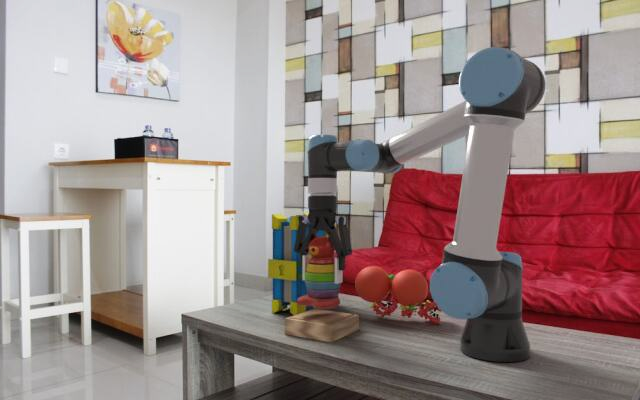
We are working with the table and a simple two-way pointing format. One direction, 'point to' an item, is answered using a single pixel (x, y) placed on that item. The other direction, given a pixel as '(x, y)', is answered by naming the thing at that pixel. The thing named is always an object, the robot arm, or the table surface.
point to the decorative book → (287, 265)
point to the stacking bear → (321, 276)
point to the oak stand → (322, 325)
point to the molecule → (396, 292)
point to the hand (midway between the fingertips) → (322, 281)
